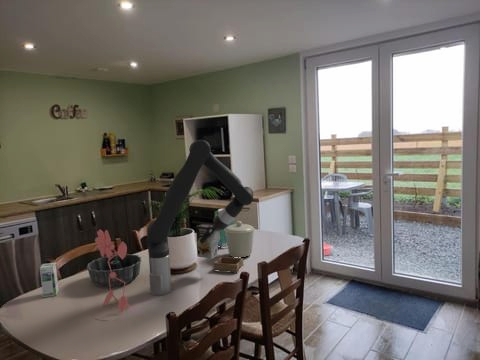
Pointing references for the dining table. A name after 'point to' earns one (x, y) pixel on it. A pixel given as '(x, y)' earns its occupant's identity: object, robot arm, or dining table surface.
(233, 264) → the walnut crate
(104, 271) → the bundt pan
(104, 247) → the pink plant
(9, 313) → the dining table surface
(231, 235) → the canister
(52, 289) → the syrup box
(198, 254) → the coffee box
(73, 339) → the dining table surface
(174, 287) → the dining table surface
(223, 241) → the milk carton
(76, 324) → the dining table surface
